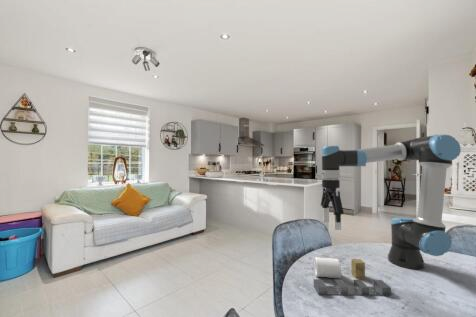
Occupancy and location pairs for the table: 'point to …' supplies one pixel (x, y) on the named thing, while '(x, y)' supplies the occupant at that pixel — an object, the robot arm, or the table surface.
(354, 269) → the block
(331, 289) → the rail
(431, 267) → the table surface
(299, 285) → the table surface
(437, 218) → the robot arm
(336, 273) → the mug
